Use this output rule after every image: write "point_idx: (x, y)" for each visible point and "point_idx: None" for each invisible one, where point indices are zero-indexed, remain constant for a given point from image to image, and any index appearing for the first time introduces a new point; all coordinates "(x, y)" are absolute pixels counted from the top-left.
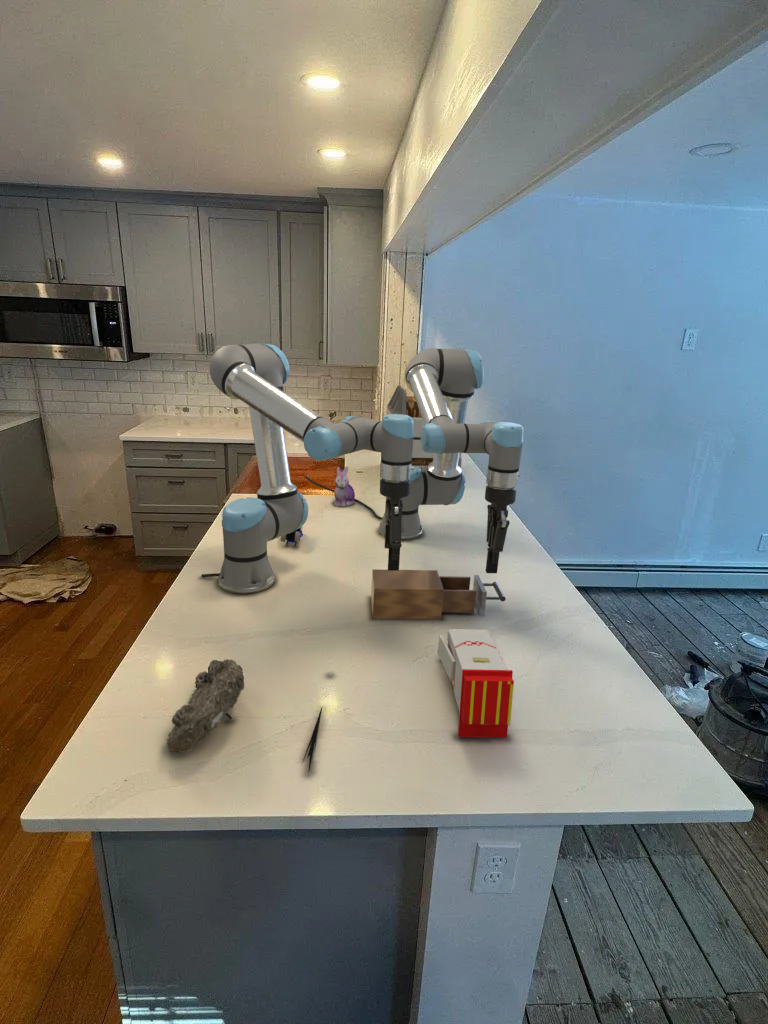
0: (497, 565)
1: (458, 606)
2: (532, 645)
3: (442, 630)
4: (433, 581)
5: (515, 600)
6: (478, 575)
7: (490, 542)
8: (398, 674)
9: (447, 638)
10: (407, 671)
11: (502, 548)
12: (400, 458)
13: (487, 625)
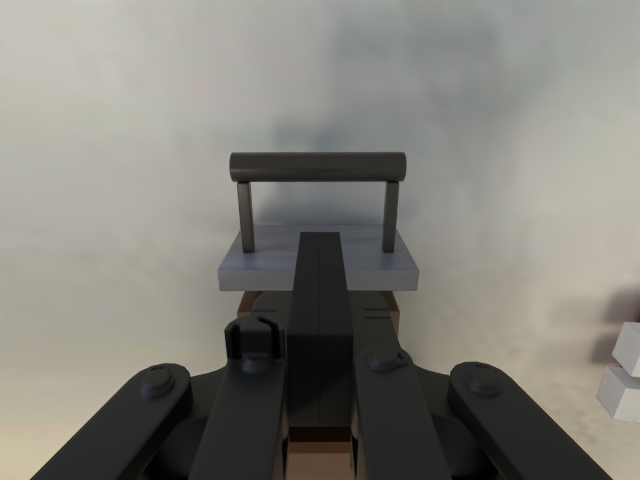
0: (342, 259)
1: None
2: (613, 74)
3: (457, 361)
4: (338, 478)
5: (233, 35)
6: (226, 273)
7: (286, 475)
8: (636, 472)
9: (599, 399)
10: (631, 456)
11: (536, 414)
12: None
13: (443, 218)
